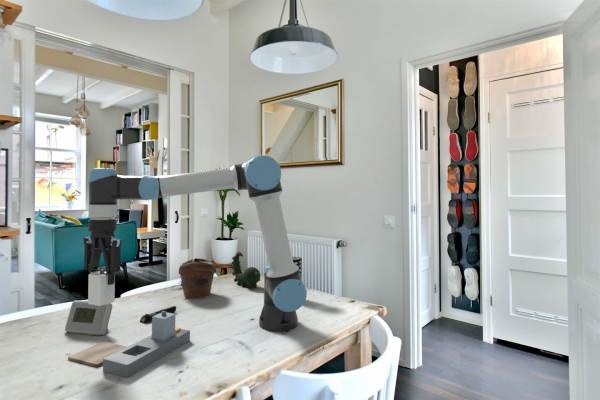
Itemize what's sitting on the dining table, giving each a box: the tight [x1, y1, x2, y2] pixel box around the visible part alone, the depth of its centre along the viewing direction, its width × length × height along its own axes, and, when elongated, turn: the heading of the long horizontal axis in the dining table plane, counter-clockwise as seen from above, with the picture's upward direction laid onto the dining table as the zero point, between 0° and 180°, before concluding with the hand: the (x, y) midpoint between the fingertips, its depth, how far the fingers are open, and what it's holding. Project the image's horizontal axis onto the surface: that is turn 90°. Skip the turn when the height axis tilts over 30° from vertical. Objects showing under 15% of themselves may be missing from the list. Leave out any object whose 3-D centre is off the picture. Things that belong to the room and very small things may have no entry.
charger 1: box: [87, 268, 116, 306], centre depth 106 cm, size 5×5×10 cm
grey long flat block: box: [102, 326, 191, 379], centre depth 107 cm, size 9×26×4 cm, turn 159°
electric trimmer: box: [139, 305, 177, 324], centre depth 139 cm, size 4×16×3 cm, turn 148°
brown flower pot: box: [178, 257, 217, 299], centre depth 172 cm, size 18×20×18 cm
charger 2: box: [151, 311, 176, 341], centre depth 112 cm, size 5×5×10 cm
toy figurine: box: [231, 251, 261, 289], centre depth 190 cm, size 9×19×25 cm
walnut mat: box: [67, 341, 128, 368], centre depth 106 cm, size 12×12×1 cm
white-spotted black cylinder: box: [292, 256, 303, 277], centre depth 166 cm, size 8×8×20 cm
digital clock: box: [64, 300, 113, 336], centre depth 124 cm, size 16×9×11 cm, turn 69°
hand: (101, 293), depth 106 cm, fingers closed on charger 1, 5 cm apart
